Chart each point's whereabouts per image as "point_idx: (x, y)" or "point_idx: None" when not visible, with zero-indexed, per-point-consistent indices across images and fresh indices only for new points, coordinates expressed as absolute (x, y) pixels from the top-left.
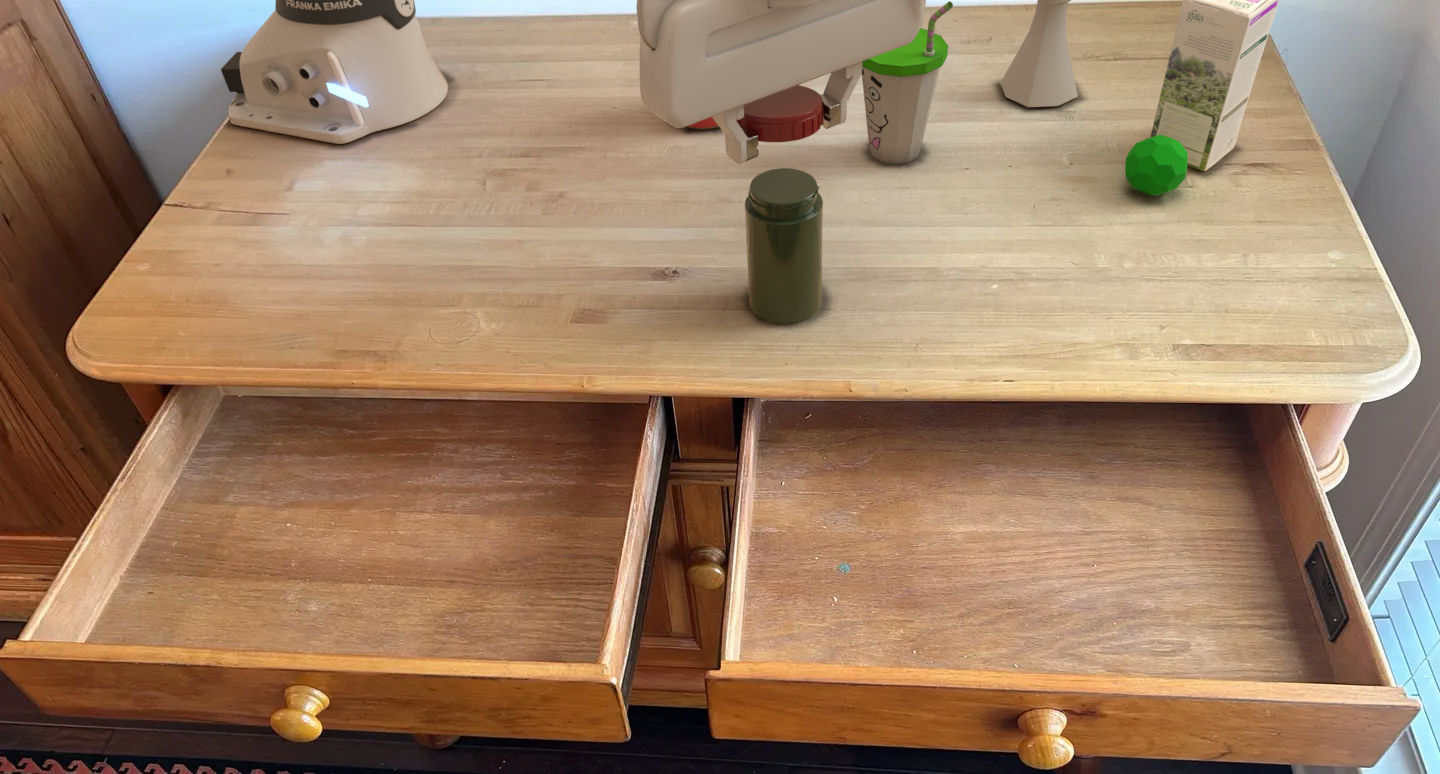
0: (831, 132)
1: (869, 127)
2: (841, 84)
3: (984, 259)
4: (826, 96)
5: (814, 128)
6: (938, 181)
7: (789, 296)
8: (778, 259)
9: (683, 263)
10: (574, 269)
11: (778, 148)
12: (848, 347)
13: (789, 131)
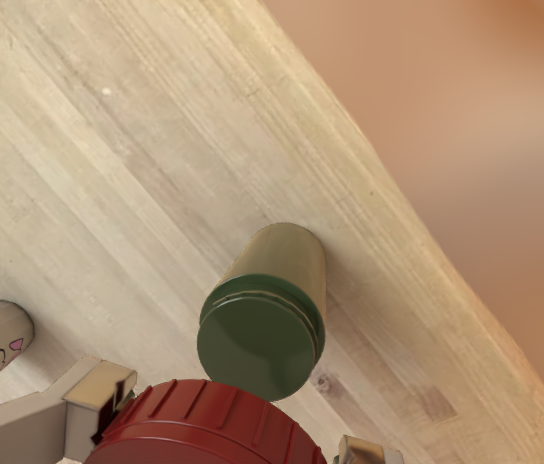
0: None
1: (4, 364)
2: (6, 448)
3: (77, 132)
4: (65, 445)
5: (192, 390)
6: (12, 259)
7: (311, 245)
8: (317, 277)
9: None
10: None
11: None
12: (303, 155)
13: (271, 434)
